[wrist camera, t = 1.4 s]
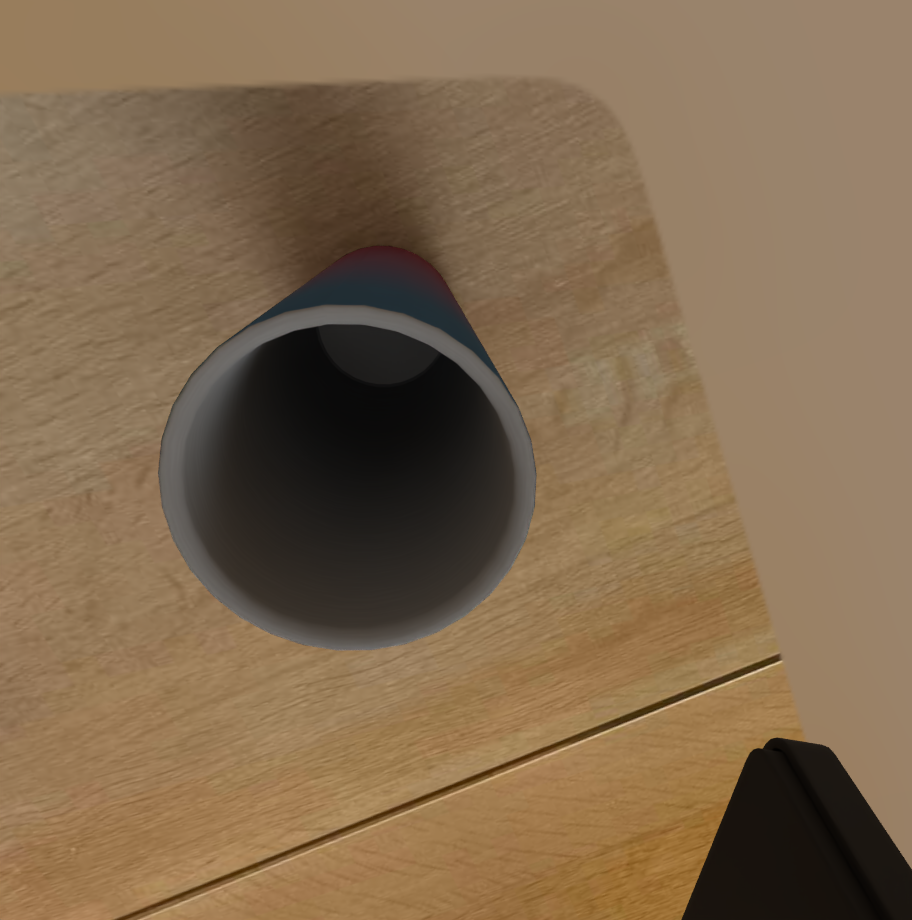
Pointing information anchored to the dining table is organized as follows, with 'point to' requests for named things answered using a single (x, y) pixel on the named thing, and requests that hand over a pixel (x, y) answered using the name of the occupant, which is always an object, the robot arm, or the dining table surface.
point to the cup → (350, 461)
